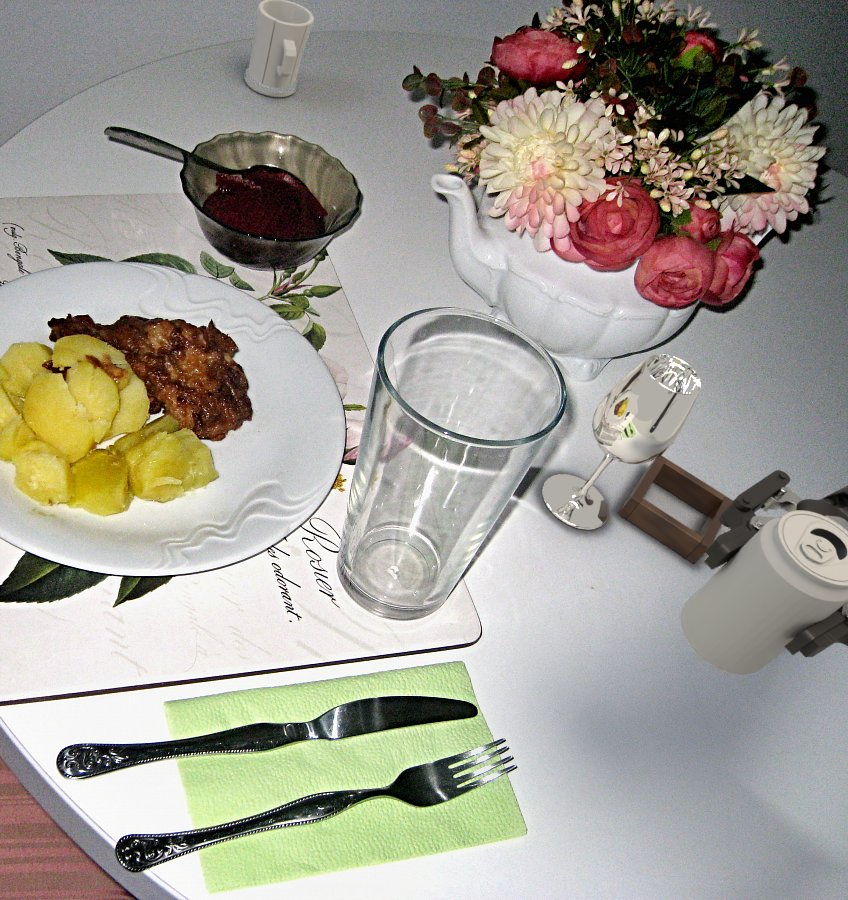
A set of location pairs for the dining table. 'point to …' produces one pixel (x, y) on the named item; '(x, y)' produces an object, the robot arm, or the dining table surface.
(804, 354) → the dining table surface
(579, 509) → the wineglass
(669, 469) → the frame
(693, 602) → the beverage can
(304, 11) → the cup
